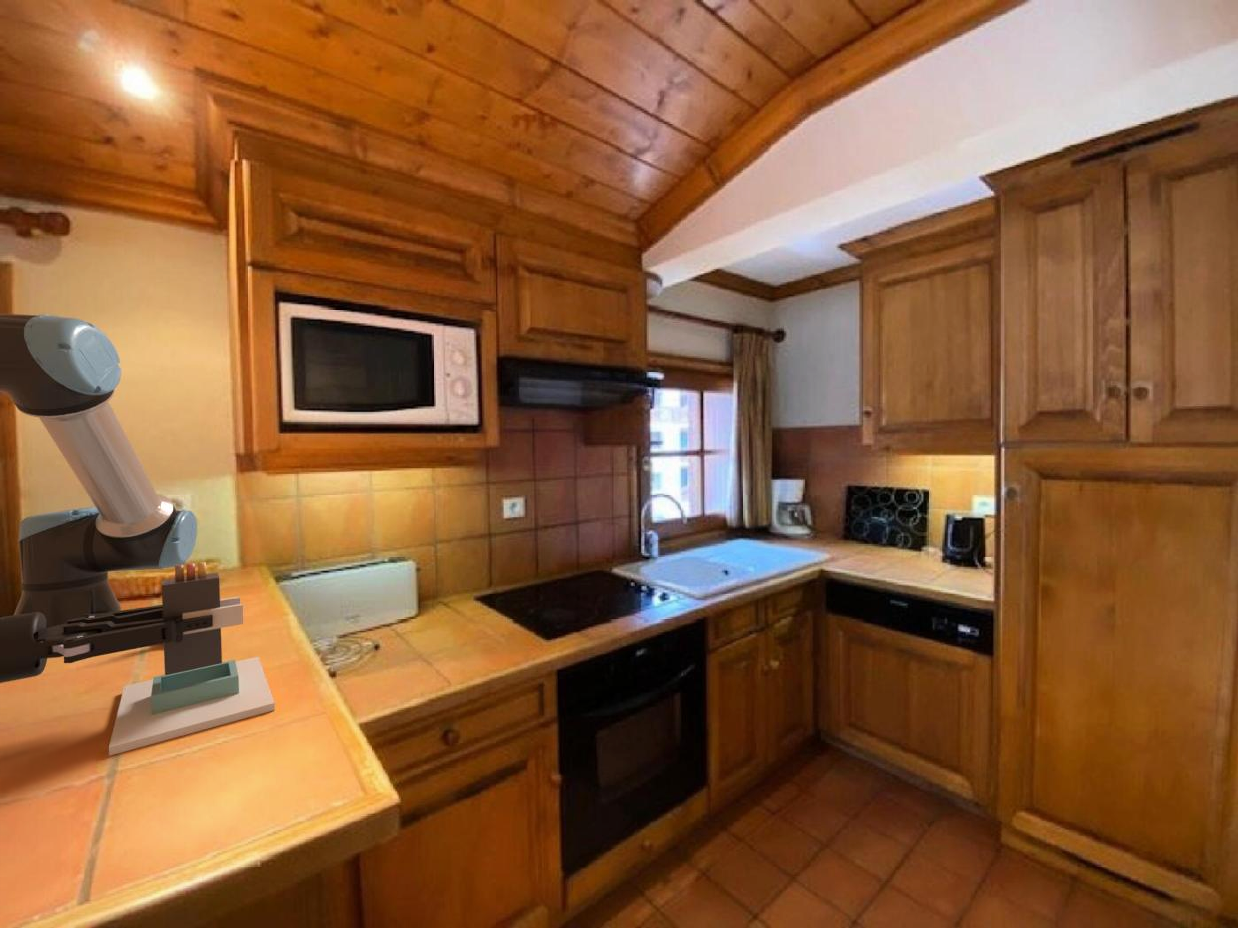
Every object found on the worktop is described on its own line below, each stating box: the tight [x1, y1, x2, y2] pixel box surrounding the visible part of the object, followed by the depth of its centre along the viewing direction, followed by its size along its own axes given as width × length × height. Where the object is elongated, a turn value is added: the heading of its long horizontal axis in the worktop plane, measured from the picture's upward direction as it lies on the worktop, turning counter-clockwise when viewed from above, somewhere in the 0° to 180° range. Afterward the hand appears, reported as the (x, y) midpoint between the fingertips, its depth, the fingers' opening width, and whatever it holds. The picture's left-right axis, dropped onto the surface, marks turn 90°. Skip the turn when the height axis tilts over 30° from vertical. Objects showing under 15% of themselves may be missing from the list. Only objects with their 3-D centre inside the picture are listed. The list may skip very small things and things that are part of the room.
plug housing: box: [161, 561, 223, 675], centre depth 72 cm, size 4×6×14 cm, turn 130°
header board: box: [108, 656, 276, 757], centre depth 73 cm, size 20×16×4 cm
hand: (240, 609), depth 76 cm, fingers closed on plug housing, 4 cm apart
